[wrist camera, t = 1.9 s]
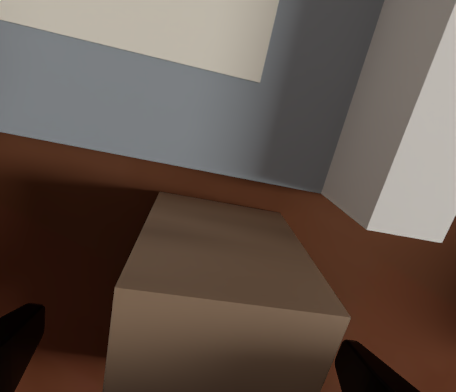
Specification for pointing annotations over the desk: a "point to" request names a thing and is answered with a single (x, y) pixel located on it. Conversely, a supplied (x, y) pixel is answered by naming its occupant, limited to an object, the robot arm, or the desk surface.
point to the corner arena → (251, 94)
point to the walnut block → (220, 305)
